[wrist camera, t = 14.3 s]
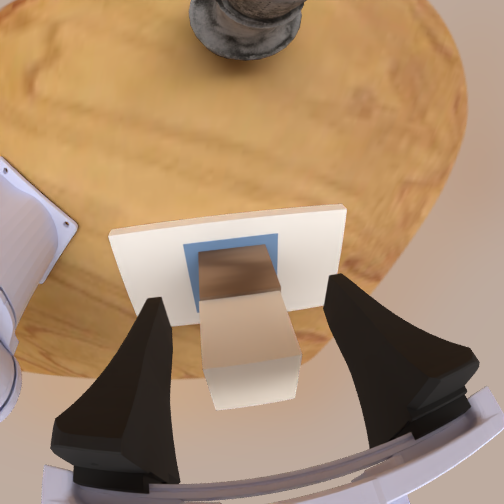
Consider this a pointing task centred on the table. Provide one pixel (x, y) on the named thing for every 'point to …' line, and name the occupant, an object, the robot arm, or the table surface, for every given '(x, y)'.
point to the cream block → (248, 350)
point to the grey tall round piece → (245, 26)
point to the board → (230, 236)
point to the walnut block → (236, 272)
